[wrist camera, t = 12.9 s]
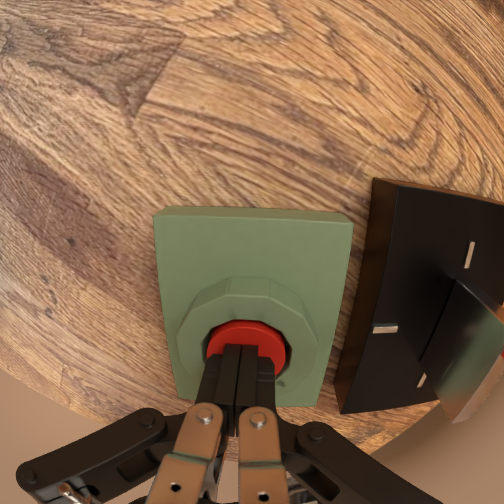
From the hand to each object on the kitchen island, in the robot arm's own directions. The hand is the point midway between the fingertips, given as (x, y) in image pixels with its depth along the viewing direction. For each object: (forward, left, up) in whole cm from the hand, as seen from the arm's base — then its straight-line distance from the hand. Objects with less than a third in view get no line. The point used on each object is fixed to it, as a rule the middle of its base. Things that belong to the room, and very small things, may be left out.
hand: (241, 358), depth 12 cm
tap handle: (+1, -11, -1) cm, 11 cm away
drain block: (0, 0, -4) cm, 4 cm away
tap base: (+1, -11, -4) cm, 12 cm away
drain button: (0, 0, -2) cm, 2 cm away
